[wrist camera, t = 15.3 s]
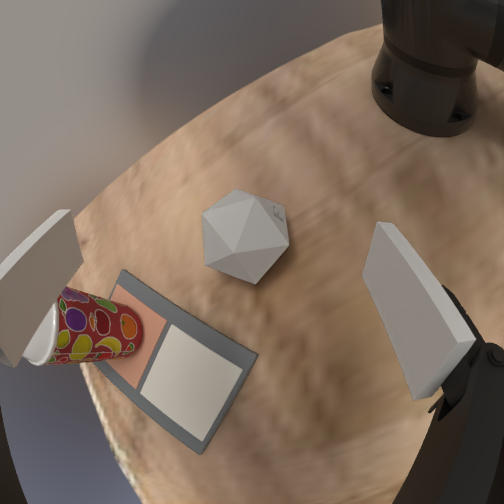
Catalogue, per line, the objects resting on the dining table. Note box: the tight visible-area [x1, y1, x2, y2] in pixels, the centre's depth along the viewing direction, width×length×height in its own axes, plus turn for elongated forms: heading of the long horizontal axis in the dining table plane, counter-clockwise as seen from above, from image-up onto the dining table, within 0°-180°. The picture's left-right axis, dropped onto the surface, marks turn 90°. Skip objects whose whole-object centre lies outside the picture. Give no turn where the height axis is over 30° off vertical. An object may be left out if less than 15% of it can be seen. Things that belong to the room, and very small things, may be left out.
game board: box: [93, 269, 259, 455], centre depth 31 cm, size 14×21×1 cm, turn 62°
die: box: [202, 189, 289, 284], centre depth 28 cm, size 8×9×10 cm
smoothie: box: [22, 286, 143, 366], centre depth 24 cm, size 8×8×20 cm
